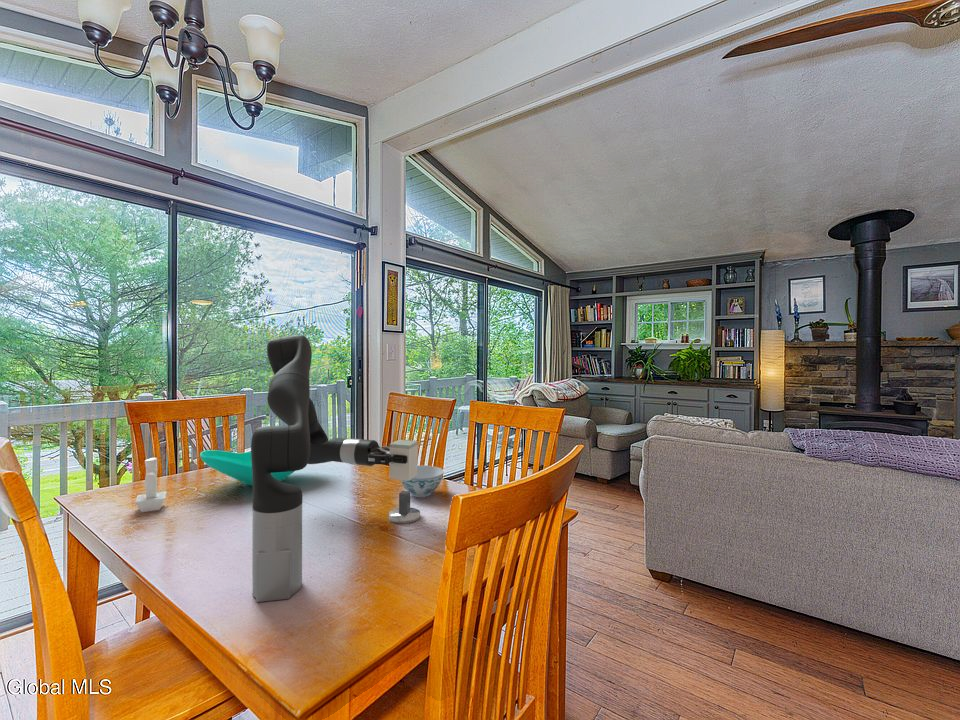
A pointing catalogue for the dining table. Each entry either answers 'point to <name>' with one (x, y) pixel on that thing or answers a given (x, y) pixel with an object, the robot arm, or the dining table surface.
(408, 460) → the pale green block
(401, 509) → the grey post on dish
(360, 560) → the dining table surface
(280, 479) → the table top decor
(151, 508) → the figurine
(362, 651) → the dining table surface
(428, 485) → the chinaware
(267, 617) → the dining table surface
